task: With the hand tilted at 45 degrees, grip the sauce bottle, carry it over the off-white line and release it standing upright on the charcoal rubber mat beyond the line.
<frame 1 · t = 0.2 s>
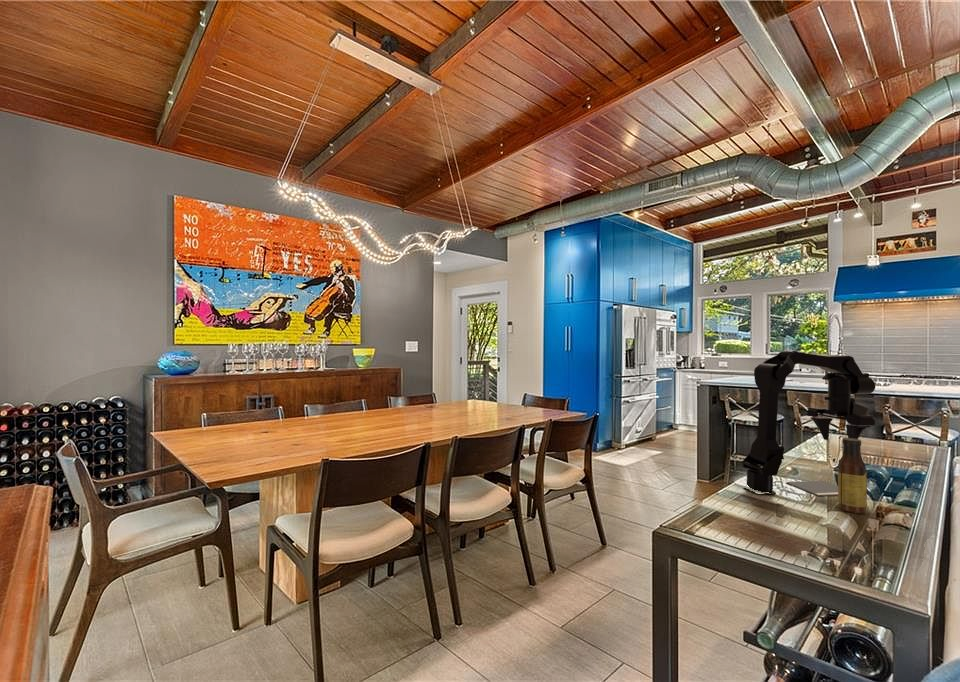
hand: (838, 443, 144), 15 cm above the table, tool pointing down, fingers open, 9 cm apart
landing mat: (821, 488, 144), on the table
sauce bottle: (851, 510, 127), on the table
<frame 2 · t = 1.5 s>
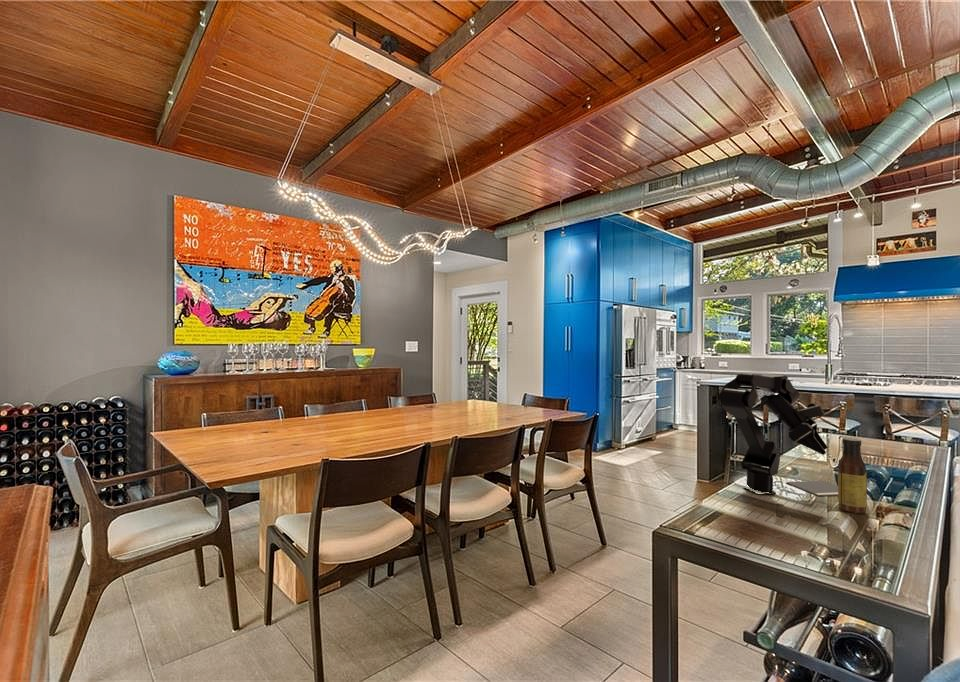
hand: (825, 451, 138), 13 cm above the table, tool tilted 45°, fingers open, 9 cm apart
nothing on the table moved.
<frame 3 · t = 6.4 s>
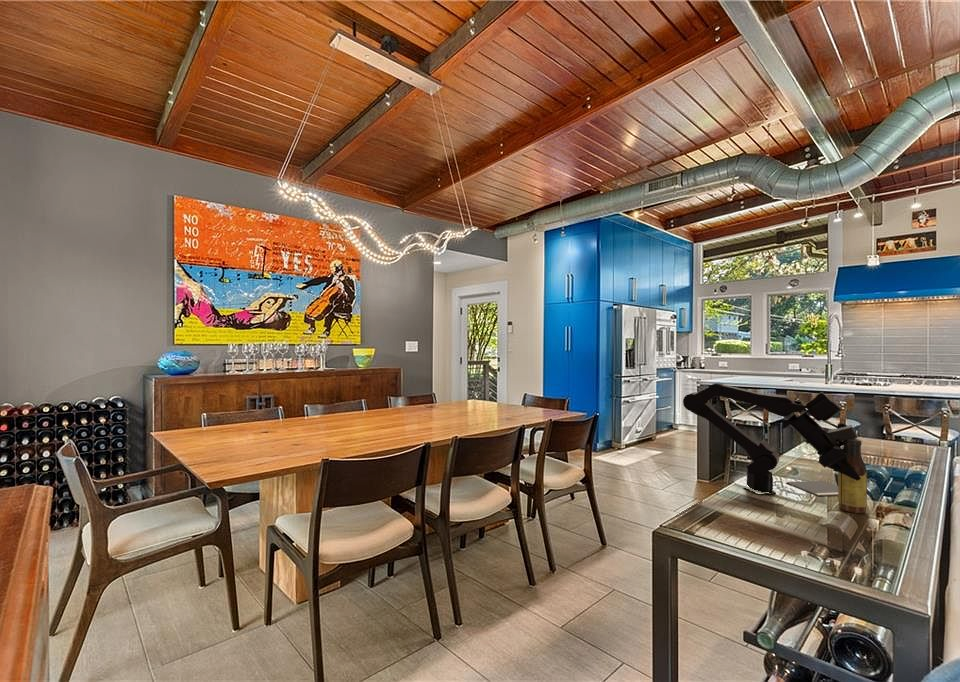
hand: (859, 476, 125), 10 cm above the table, tool tilted 45°, fingers closed on sauce bottle, 6 cm apart
sauce bottle: (851, 510, 127), on the table, touching gripper
when the fingers open (11 cm above the table, at t = 10.3 s): sauce bottle drops 1 cm, resting on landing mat.
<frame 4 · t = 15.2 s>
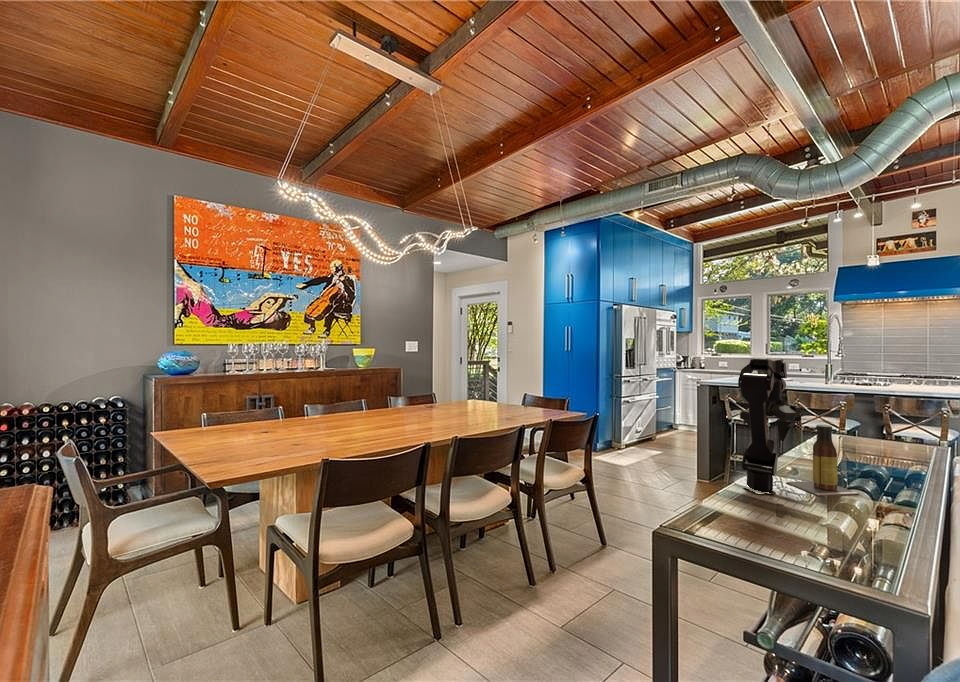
hand: (769, 441, 152), 13 cm above the table, tool pointing down, fingers open, 9 cm apart
sauce bottle: (824, 488, 144), resting on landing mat
at the end: sauce bottle inside the target area (1.9 cm from its centre), resting on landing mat; sauce bottle tilted 0°; the gripper is holding nothing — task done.
